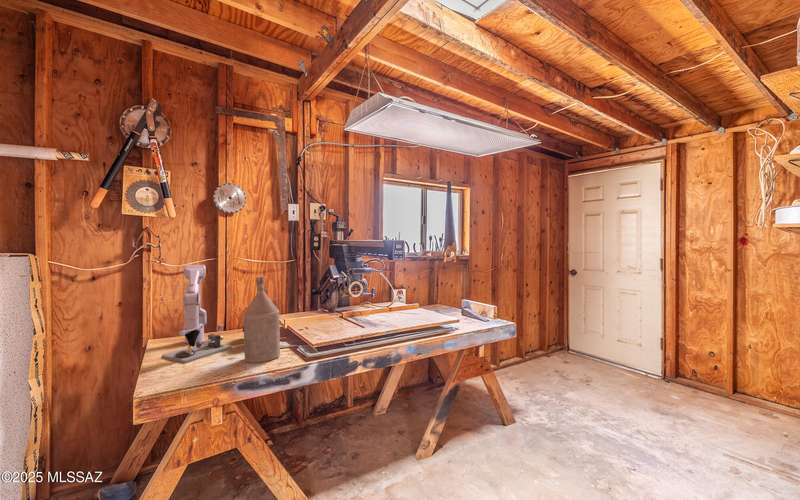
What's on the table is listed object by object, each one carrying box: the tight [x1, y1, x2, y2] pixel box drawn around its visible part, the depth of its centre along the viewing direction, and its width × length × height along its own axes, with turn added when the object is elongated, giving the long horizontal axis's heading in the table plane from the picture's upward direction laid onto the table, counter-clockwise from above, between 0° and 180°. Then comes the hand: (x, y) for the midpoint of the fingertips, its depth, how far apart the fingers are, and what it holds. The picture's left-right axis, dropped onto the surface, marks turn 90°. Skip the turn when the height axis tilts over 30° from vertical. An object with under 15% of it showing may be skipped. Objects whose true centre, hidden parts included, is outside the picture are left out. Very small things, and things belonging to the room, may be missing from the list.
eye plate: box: [205, 333, 224, 349], centre depth 174 cm, size 9×4×6 cm, turn 65°
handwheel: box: [175, 345, 195, 357], centre depth 161 cm, size 8×9×5 cm
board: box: [161, 343, 232, 364], centre depth 168 cm, size 18×24×1 cm
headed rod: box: [195, 335, 224, 348], centre depth 173 cm, size 3×14×3 cm, turn 155°
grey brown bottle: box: [242, 275, 282, 364], centre depth 160 cm, size 13×17×40 cm
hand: (192, 346), depth 160 cm, fingers closed
